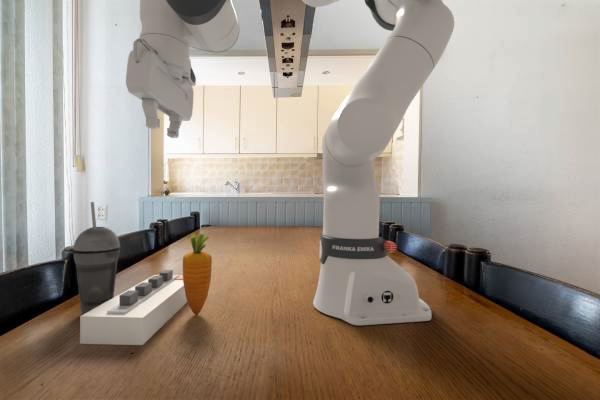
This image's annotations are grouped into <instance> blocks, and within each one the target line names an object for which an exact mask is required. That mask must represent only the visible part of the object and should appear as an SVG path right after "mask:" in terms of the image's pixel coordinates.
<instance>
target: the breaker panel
mask: <svg viewBox="0 0 600 400" xmlns="http://www.w3.org/2000/svg"><path fill="white" fill-rule="evenodd" d="M173 273H174V272H173V269H164V270H162V271H160V272H159V274H154V275H151V276H150V277H148V278H146V279H145V280H142V281H140V282H139V283H137V284H136V285H134V286H132V287H130V288H129V289H127V290H124V291H123V292H121V293H119V294H118V295H115V296H114V297H113V298H112V299H110V300H109V301H107V302H105V303H103V304H101V305H100V306H98V307H96V308H94V309H92V310H91V311H89V312H87V313H85V314H84V315H82V314H81V315H80V317H79V319H80V321H79V324H80V327H79V329H80V330H79V344H80V345H85V344H86V345H113V346H114V345H116V346H118V345H119V346H120V345H121V346H122V345H123V346H127V345H128V346H143V345H145V344H146V342H148V341H149V340H150V339H151V338H152V337H153V336H154V335H155V334H156V333H157V332H158V331H159V330H160V329H161V328H162V327H163V326H165V324H166V323H167V322H169V320H170V319H171V318H173V317H174V315H175V314H177V312H179V311H180V310H181V309H182V308H183V307H184V306H185V305H186V304H187V303H188V301H187V299H186V294H185V289H184V283H183V274H173Z"/></svg>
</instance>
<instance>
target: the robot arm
mask: <svg viewBox="0 0 600 400" xmlns="http://www.w3.org/2000/svg"><path fill="white" fill-rule="evenodd" d="M300 1H301V2H303V3H304V4H305V5H308V6H310V7H312V8H320V7H324V6H326V7H327V6H328V5H331V4H334V3H336V2H339V1H340V0H300ZM364 3H365V5H366V7H367V8H368V9H369V10H370V13H371V16H372V18H373V19H374V21H375V23H376V24H378V26H379V27H381V28H382V29H383V30H387V31H389V32H390V31H391V33H389V35H388V36H387V38H386V39H385V41H384V42H383V44H382V46H381V47H380V48H379V49H378V51H377V52H376V54H375V56H374V57H373V58H372V60H371V62H370V63H369V65H368V66H367V68H366V69H365V70H364V72H363V73H362V75H361V77H359V79H358V80H357V81H356V83H355V85H354V86H353V87H352V89H350V92H349V93H348V94H347V95H346V97H345V99H344V100H343V101H342V103H341V104H340V105H339V107H338V109H337V110H336V111H335V113H334V114H333V116H332V118H331V120H330V122H329V124H328V126H327V128H326V129H325V132H324V134H323V137H322V187H323V211H322V212H323V214H322V234H320V240H319V262H320V271H319V276H318V282H317V288H316V291H315V295H314V298H313V302H312V305H313V307H314V308H315V309H316V310H317V311H318V312H320V313H323V314H324V315H328V316H331V317H334V318H336V319H341V320H342V321H344V322H346V323H348V324H350V325H353V326H369V325H385V324H387V325H388V324H399V323H415V322H427V321H428V322H429V321H431V320H432V319H433V318H432V317H433V316H432V310H431V308H430V306H429V304H427V303H426V302H425V301H424V300H422V299H421V298H419V297H420V296H419V291H418V290H419V289H418V286H417V283H416V281H415V279H414V278H413V276H412V275H411V274H409V273H408V272H407V270H405V269H404V268H403V267H401V266H400V265H399V264H398V263H397V262H396V261H394V260H393V259H392V258H391V257H390V256H389V255H388V254H389V253H395V252H396V251H397V248H398V246H397V244H396V243H395V242H393V241H392V240H386V239H384V238H383V237H381V236H379V235H380V206H381V205H380V204H381V203H380V201H381V200H380V193H379V191H378V187H377V180H376V174H375V173H376V172H375V162H374V161H375V159H377V158H379V156H381V154H383V153H384V151H385V150H386V149H387V147H388V146H389V143H390V142H391V140H392V139H393V137H394V135H395V133H396V131H397V130H398V128H399V126H400V124H401V123H402V120H403V118H404V117H405V115H406V113H407V110H408V108H409V106H410V105H411V104H412V101H413V100H414V99H415V97H416V96H417V94H418V93H419V91H420V90H421V89H422V87H423V85H424V84H425V82H426V81H427V79H428V78H429V77H430V75H431V73H432V72H433V71H434V69H435V67H437V64H438V62H439V61H440V59H441V58H442V56H443V54H444V53H445V50H446V49H447V46H448V43H449V42H450V39H451V36H452V35H453V32H454V28H455V17H454V15H453V12H452V10H451V9H450V8H449V7H448V6H447V5H446V4H445V3H444V2H443V0H364ZM139 19H140V23H141V32H140V34H139V37H138V38H136V39H135V40H134V41H133V42H132V43H133V45H132V47H133V49H132V50H131V51H129V54H128V58H127V64H126V73H125V74H126V75H125V85H126V89H127V91H128V93H130V95H133V96H134V97H136V98H138V99H139V100H141V106H142V110H143V113H144V117H145V126H146V128H148V129H151V130H159V129H160V123H161V122H160V121H161V119H160V118H159V117H158V111H160V112H161V113H163V114H164V115H166V116H167V117H168V121H169V126H168V127H167V129H166V130H167V134H166V135H167V137H169V138H171V139H178V138H179V135H180V134H179V132H180V128H181V125H182V123H183V122H184V121H185V122H189V121H191V119H192V117H193V111H194V110H193V109H194V95H195V94H194V87H195V86H196V84H197V83H196V82H197V77H196V74H195V72H194V70H193V67H192V63H191V58H190V50H191V48H193V49H197V50H201V51H205V52H209V53H210V52H211V53H223V52H227V51H229V50H230V49H231V48H232V47H233V46H234V45H236V42H237V41H238V39H239V36H240V24H239V23H240V22H239V21H238V17H237V13H236V10H235V8H234V4H233V2H232V0H140V1H139ZM182 121H183V122H182Z"/></svg>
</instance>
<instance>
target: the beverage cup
mask: <svg viewBox="0 0 600 400" xmlns="http://www.w3.org/2000/svg"><path fill="white" fill-rule="evenodd" d="M90 209H91V210H90V211H91V222H92V223H91V225H92V226H91V227H89V228H86V229H85V230H83V231H82V232H81V233H80V234H79V235H77V237H76V239H75V241H74V243H73V248H72V252H71V253H73V260H74V264H75V268H76V269H75V270H76V277H77V278H76V279H77V286H78V297H79V307H80V312H81V316H82V315H84V314H85V313H87V312H89V311H91V310H92V309H94V308H96V307H98V306H100V305H101V304H103V303H105V302H107V301H109V300H110V299H112V298H114V297H115V287H116V286H115V285H116V276H117V269H118V260H119V257H120V253H121V251H120V250H121V248H122V247H121V244H120V243H121V242H120V239H119V237H118V235H117V234H116V232H114V231H113V230H112V229H110V228H108V227H105V226H97V220H96V211H95V210H96V209H95V202H94V201H91V202H90Z"/></svg>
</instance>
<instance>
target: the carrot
mask: <svg viewBox="0 0 600 400" xmlns="http://www.w3.org/2000/svg"><path fill="white" fill-rule="evenodd" d="M205 235H206V234H205V232H204V233H203V232H200V233H199V235H198V237H197V236H196V234H195V233H192V234H191V235H190V236H191V237H190V242H191V243H190V244H191V246H192V250H193V251H190V252H187V253H186V254H185V255H184V256H183V258H182V275H183V283H184V289H185V294H186V299H187V301H188V302H187V303H188V306H189V308H190V310H191V312H192V313H193V314H194V315H195V316H198V315H199V314H201V311H202V310H203V307H204V306H205V303H206V300H207V298H208V293H209V291H210V290H209V289H210V285H211V281H212V280H211V279H212V268H213V267H212V263H213V262H212V261H213V260H212V259H213V257H212V255H211V254H210V253H209V252H206V251H203V249H204V248H205V247H206V246H207V244H205V242H206V241H208V240H209V238H210V237H209V236H205Z"/></svg>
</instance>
